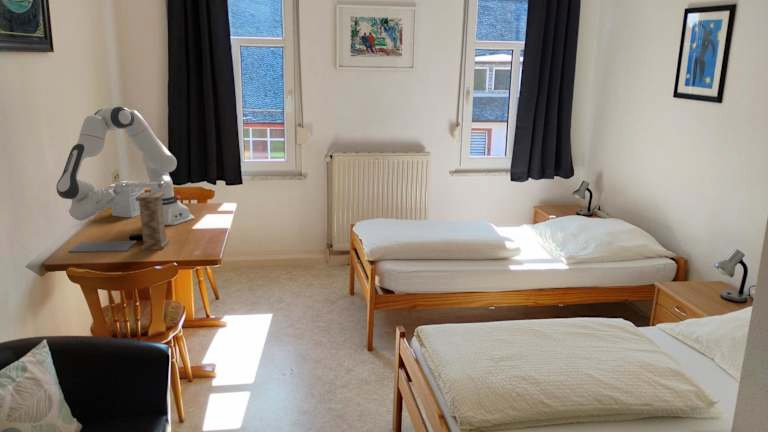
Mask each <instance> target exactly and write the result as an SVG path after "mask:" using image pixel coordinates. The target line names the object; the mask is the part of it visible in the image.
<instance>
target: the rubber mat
mask: <svg viewBox="0 0 768 432" xmlns="http://www.w3.org/2000/svg"><path fill="white" fill-rule="evenodd" d="M137 242H138V241H137V240H109V241H107V240H105V241H103V240H101V241H100V240H99V241H98V240H97V241H81V242H79V243H78V244H76V246H74V247H72V248H71V249H70V250H69V251H68V253H100V252H101V253H106V252H110V251H116V252H128V251H129V250H130V249H131V248H132V247H133V246H134V245H135V244H136V243H137Z"/></svg>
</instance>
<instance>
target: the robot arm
mask: <svg viewBox="0 0 768 432" xmlns="http://www.w3.org/2000/svg"><path fill="white" fill-rule="evenodd" d="M120 129H123V130H124V131H125V133H126V134H127V136H128V137H129V139H130V140H131V141H132V143H133V144H134V146H135V147H136V148H137V149H138V151H140V152H141V154H142V156H141V160H142V163H143V165H144V166H145V170H146V173H147V176H148V180H149V182H161V181H164V182H165V186H164V187H162V188H150V191H151V192H150V193H157V192H164V196H163V197H162V205H163V215H164V225H165V226H169V225H170V226H175V225H178V224H179V225H180V224H182V223H185V222H187V221H188V222H189V221H191V220H195V216H194V215H193V214H191V212H190V210H189V207H187V206H186V205H185V204H182V203H181V202H180V201H179V200H181V196H180V195H176V194H174V193H175V192H174V184H173V183H174V182H173V180H172V178H171V176H170V173H171V172H173V171H175V170H176V168H177V163H178V162H177V159H176V157H175V156H174V155H173V153H171V152H170V151H169V150H168V148H167V147H166V146H165V145H164V144H163V142H161V140H159V138H158V137H157V136H156V135H155V133H154V131H153V130H152V128H151V127H150V125H149V124H148V122H147V121H146V120H145V119H144V117H143V116H142V115H141V114H140V113H139V112H138V111H137V110H135V109H128V108H127V107H124V106H109V107H105V108H101V109H99V110H98V109H97V111H96V112H95V113H94V114H93V115H92V114H91V115H87V116H85V119H84V121H83V123H82V125H81V128H80V132H79V135H78V140H77V142H76V143H75V144H74V145H73V146H72V148H71V150H70V151H69V155H68V157H67V159H66V161H65V162H66V163H65V165H64V168H63V171H62V174H61V176H60V178H59V179H58V181H57V183H56V187H55V188H56V189H55V190H56V193H57V195H58V196H59V197H60V198H61V199H66V200H71V205H70V208H69V209H68V213H69V215H70V216H71V217H72V218H73V219H74V220H76V221H80V222H82V221H86V220H89V219H90V218H92V217H93V216H95V215H97V214H98V213H99V212H101V211H104V210H106V209H107V208H109V207H110V206H111V205H112V203H113V201H114V200H115V199H116V197H117V196H118V195H120V194H121V193H122V192H123V191H125V190H126V189H127V188H126V187H127V186H126V185H125V184H123V185H121V186H119V187H117V188H116V187H115V186H112V187H110V188H109V187H105V188H99V189H97V190H95V187H94V185H92V184H91V183H89V182H87V181H84V180H79V178H78V175H79V172H80V169H81V166H82V163H83V161H84V160H85V159H87V158H93V157H96V156H98V155H100V154H101V153H102V151H103V149H104V145H105V141H106V134H107V133H108V131H117V130H120ZM127 181H128V182H129V180H127Z"/></svg>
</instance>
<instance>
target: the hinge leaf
mask: <svg viewBox="0 0 768 432" xmlns="http://www.w3.org/2000/svg"><path fill="white" fill-rule="evenodd" d="M114 184H115V187H116V188H117V187H119V186H121V185H123V184H125V185H126V186H127V187H126V188H144V189H147V188H150V189H151V188H162V187H164V186H165V182H164V181H161V182H150V181H131V182H122V181H120V182H119V181H118V182H115V183H114Z"/></svg>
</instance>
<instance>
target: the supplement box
mask: <svg viewBox="0 0 768 432" xmlns="http://www.w3.org/2000/svg"><path fill="white" fill-rule="evenodd" d="M128 181H129V180H124V181H121V182H128ZM129 182H132V181H129ZM115 184H116V183H113V184H110V185H108V188H110V187H112V186H115ZM141 193H145V188H127V189H126V190H125V191H123V192H122V193H121V194H120V195H118V196H117V197H116V199H115V200H114V201H113V203H112V205H111V213H112V217H122V218H134V217H137V216H140V207H139V201H136V197H137V196H139V195H140V194H141Z"/></svg>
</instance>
